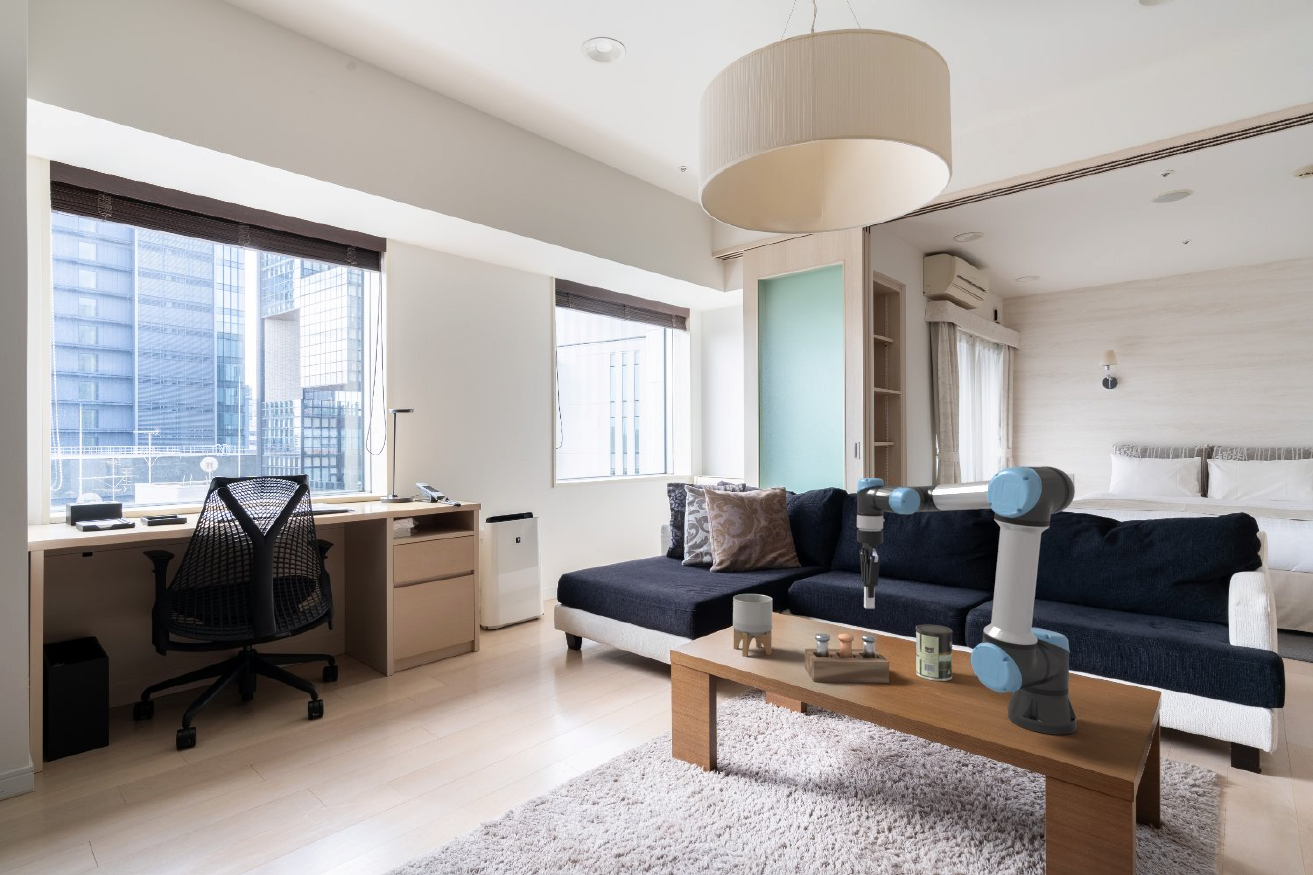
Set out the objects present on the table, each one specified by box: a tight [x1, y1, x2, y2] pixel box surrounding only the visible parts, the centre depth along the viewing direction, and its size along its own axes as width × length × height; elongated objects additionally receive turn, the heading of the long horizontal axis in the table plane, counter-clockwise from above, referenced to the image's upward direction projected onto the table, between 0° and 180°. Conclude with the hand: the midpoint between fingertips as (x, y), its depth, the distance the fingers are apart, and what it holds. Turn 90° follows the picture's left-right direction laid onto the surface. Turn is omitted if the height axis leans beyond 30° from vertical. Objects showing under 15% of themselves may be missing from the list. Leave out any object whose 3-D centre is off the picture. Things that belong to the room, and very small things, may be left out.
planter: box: [732, 593, 773, 658], centre depth 224 cm, size 13×13×18 cm
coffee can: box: [915, 623, 954, 682], centre depth 202 cm, size 10×10×14 cm
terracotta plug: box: [837, 633, 855, 658], centre depth 202 cm, size 4×4×7 cm
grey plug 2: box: [861, 633, 878, 658], centre depth 202 cm, size 4×4×7 cm
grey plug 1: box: [814, 633, 831, 658], centre depth 202 cm, size 4×4×7 cm
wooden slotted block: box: [804, 648, 890, 684], centre depth 202 cm, size 12×22×6 cm, turn 90°
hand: (869, 607), depth 202 cm, fingers closed
